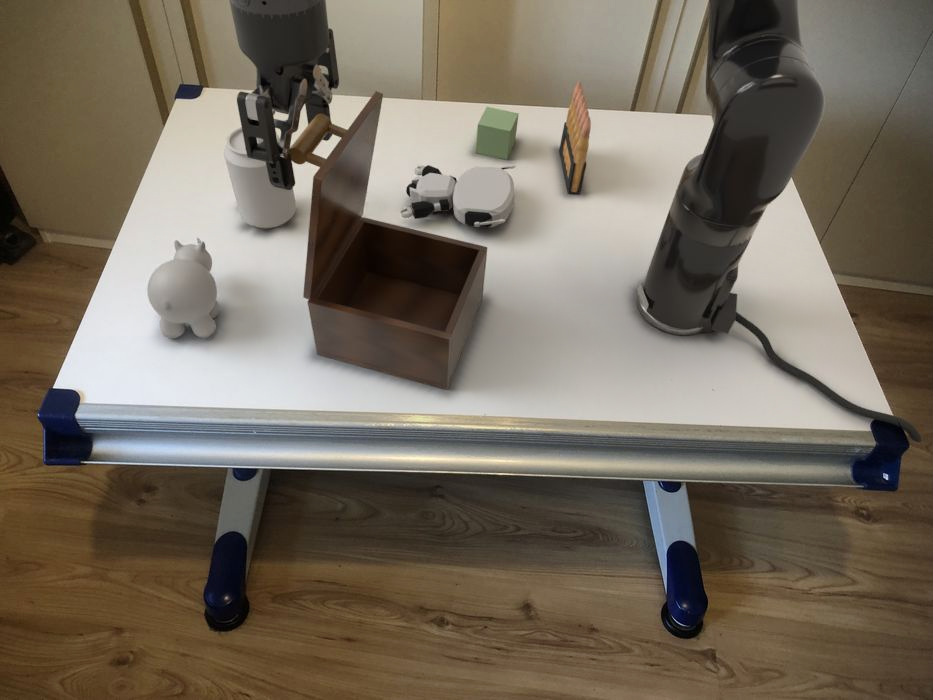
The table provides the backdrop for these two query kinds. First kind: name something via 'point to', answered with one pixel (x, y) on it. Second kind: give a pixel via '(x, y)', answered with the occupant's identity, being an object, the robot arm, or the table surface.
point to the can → (256, 187)
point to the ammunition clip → (575, 141)
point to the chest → (399, 302)
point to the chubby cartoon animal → (185, 292)
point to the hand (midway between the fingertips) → (303, 160)
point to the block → (496, 133)
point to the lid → (336, 185)
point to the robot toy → (463, 195)
